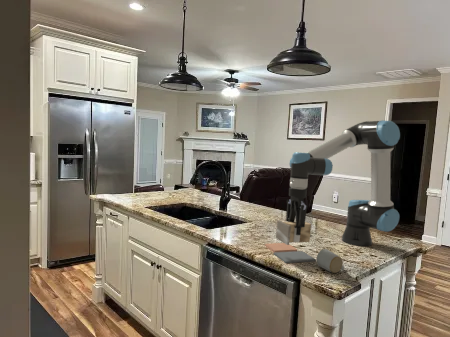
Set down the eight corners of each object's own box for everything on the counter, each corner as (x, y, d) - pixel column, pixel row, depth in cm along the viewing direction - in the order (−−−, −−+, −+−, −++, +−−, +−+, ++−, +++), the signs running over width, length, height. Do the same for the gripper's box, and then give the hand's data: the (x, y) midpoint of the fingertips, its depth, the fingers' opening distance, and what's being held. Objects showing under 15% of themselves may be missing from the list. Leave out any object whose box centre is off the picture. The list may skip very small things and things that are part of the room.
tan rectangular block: (300, 237, 150) (302, 220, 149) (313, 244, 141) (315, 225, 140) (275, 237, 146) (277, 220, 145) (287, 244, 136) (288, 226, 136)
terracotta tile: (286, 242, 162) (265, 243, 158) (297, 249, 153) (274, 250, 149) (286, 245, 162) (264, 247, 158) (297, 252, 153) (274, 254, 149)
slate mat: (302, 252, 152) (302, 251, 152) (315, 261, 141) (316, 259, 141) (273, 254, 147) (273, 252, 147) (285, 263, 136) (285, 261, 136)
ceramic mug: (329, 275, 126) (331, 256, 126) (315, 267, 134) (316, 249, 133) (348, 272, 131) (351, 253, 131) (333, 265, 139) (335, 247, 138)
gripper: (280, 184, 148) (276, 234, 150) (301, 190, 132) (296, 246, 134) (295, 185, 151) (290, 234, 152) (317, 191, 134) (311, 246, 136)
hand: (293, 240), depth 143 cm, fingers closed on tan rectangular block, 4 cm apart
